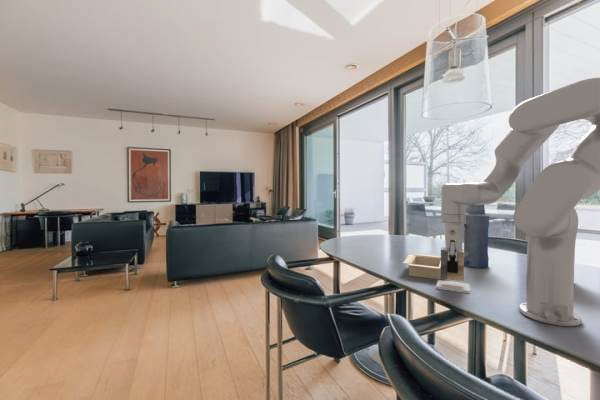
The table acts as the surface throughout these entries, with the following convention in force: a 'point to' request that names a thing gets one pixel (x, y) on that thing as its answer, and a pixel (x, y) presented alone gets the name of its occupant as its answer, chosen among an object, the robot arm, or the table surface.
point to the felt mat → (453, 286)
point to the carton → (424, 266)
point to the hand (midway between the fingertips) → (452, 269)
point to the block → (444, 273)
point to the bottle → (476, 237)
